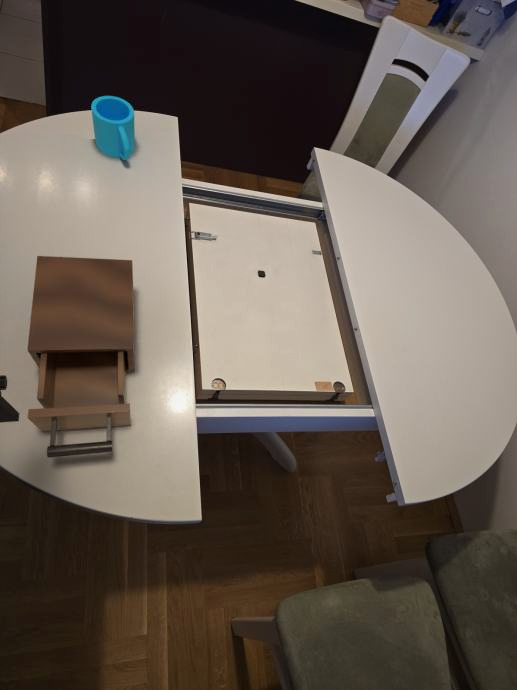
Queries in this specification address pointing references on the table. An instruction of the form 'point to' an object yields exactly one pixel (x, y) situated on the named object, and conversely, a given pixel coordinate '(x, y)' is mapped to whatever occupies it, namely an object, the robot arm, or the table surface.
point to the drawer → (81, 397)
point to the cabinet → (82, 307)
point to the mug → (113, 126)
